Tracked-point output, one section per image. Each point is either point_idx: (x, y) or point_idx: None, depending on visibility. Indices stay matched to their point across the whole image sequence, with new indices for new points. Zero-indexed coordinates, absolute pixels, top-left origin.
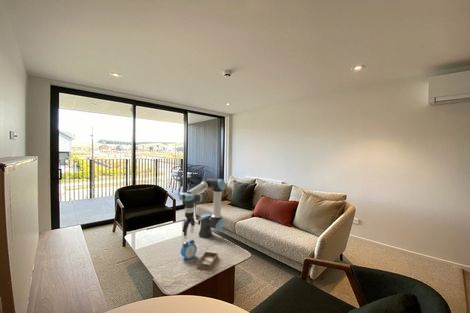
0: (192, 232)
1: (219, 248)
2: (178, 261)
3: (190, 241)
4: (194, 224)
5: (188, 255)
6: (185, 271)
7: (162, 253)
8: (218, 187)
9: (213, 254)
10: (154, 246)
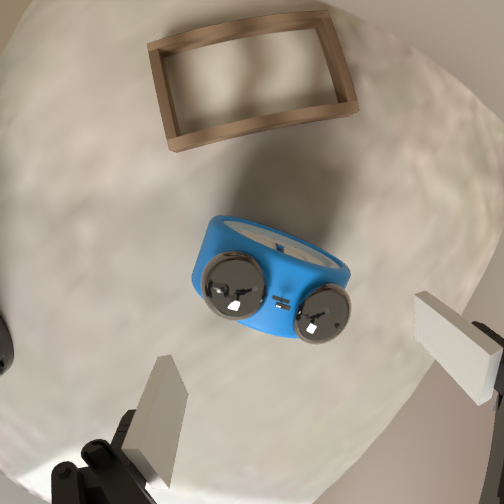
0: (175, 370)
1: (42, 128)
2: None
3: (264, 296)
4: (92, 458)
5: (291, 247)
6: (408, 166)
7: (298, 422)
8: None
9: (164, 73)
10: (255, 483)
